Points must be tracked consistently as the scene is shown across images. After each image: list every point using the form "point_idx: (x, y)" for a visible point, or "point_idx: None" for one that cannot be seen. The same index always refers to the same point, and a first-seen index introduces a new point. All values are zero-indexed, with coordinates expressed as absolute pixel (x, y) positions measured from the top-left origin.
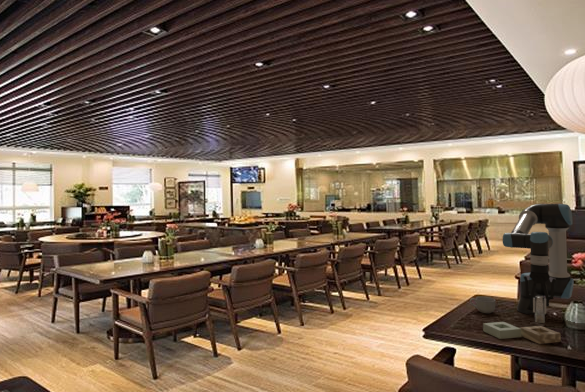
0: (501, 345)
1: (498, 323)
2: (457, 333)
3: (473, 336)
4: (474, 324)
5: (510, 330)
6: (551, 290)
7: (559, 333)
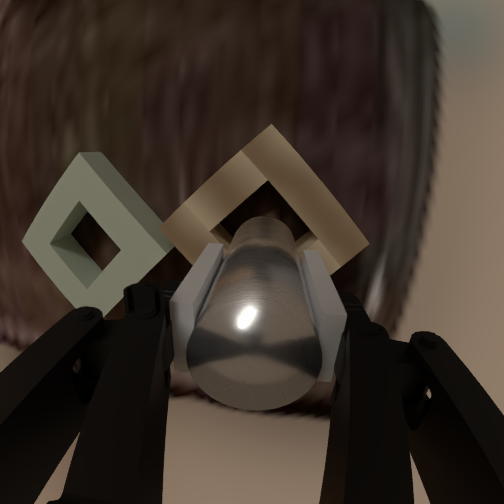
0: None
1: (63, 204)
2: (6, 301)
3: (42, 315)
4: (10, 149)
5: None
6: (434, 486)
7: (363, 248)
